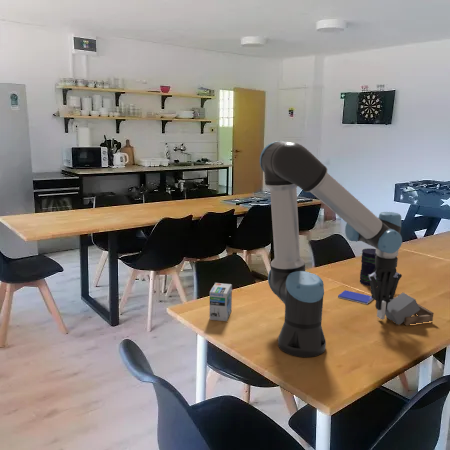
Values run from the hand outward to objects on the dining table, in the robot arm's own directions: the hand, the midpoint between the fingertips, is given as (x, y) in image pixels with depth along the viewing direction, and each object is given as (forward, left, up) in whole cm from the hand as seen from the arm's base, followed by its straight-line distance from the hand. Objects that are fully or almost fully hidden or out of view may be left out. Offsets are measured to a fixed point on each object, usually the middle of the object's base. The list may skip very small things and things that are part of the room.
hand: (380, 317), depth 167 cm
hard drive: (+3, +22, -2) cm, 23 cm away
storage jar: (+20, +38, -1) cm, 43 cm away
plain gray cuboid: (+8, -2, +1) cm, 9 cm away
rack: (+11, +3, -1) cm, 12 cm away
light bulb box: (-56, +19, -2) cm, 59 cm away
